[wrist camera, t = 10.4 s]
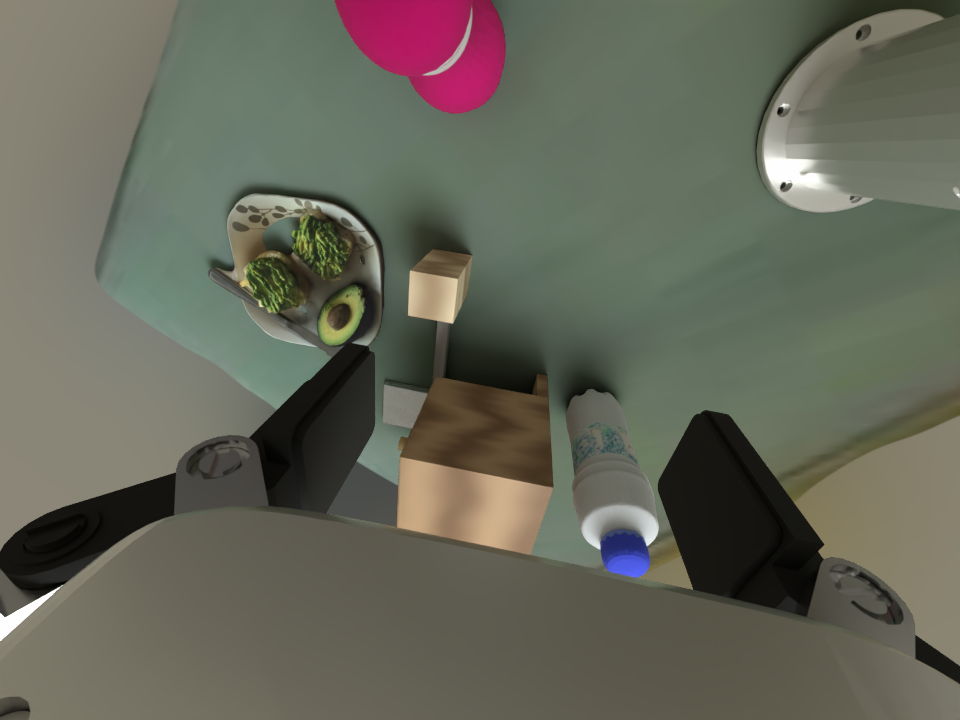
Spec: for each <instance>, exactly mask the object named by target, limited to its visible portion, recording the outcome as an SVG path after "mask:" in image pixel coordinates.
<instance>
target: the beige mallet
mask: <svg viewBox="0 0 960 720" xmlns="http://www.w3.org/2000/svg"><path fill="white" fill-rule="evenodd" d="M471 263H472V255H466V254H461V253H455V252H449V251H444V250H438V249H432V250H431V251H430V252H429V253H428V254H427V255H426V256H425V257H424V258H423V259H422V260H421V261H420V262H419V263H418V264H417V265H415V266H414V267H413V268H412V269H411V270H410V283H409V305H408V316H414V317H419V318H425V319H430V320H436V321H438V323H437V334H436V345H435V356H434V368H433V379H432V384H433V383H434V381H435V378H436V377H441V378H445V374H446V365H447V356H448V346H449V337H450V328H451V323H452V324H453V323H454V320H455V318H456V316H457V314H458V312H459V310H460V308H461V306H462V304H463V302H464V300H465V298H466V296H467V293H468V286H469V278H470V270H471Z"/></svg>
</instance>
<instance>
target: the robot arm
mask: <svg viewBox="0 0 960 720" xmlns="http://www.w3.org/2000/svg"><path fill="white" fill-rule="evenodd" d="M856 33H857V38H856ZM778 108H780V113H779V114H778V115H777V110H778ZM757 165H758V169H759V172H760V176H761V179H762V181H763V183H764V184H765V186H766V188H767V189H768V191H769V192H770V193H771V194H772V195H773V196H774V197H775V198H776V199H777V200H779V201H780V202H782V203H784V204H786V205H788V206H789V207H793V208H796V209H800V210H804V211H811V212H836V211H841V210H846V209H851V208H853V207H856V206H859V205H862V204H864V203H867V202H870V201H872V200H873V199H880V200H888V201H895V202H903V203H910V204H917V205H925V206H932V207H939V208H947V209H954V210H960V14H958V15H955V16H952V17H949V18H946V19H945V18H943V17H942V16H940V15H939V14H936V13H933V12H929V11H926V10H922V9H897V10H892V11H887V12H882V13H878V14H876V15H873V16H870V17H867V18H865V19H862V20H859V21H857V22H855V23H853V24H851V25H849V26H847V27H845V28H843V29H841V30H839V31H837V32H836V33H834V34H833V35H831V36H830V37H828V38H827V39H825V40H824V41H822V42H821V43H819V44H818V45H817V46H816V47H815V48H814V49H813V50H811V51H810V52H809V53H808V54H807V55H806V56H805V57H804V58H802V59H801V60H800V62H799V63H798V64H797V65H796V66H795V67H794V68H793V70H792V71H791V72H790V73H789V74H788V75H787V76H786V78H785V79H784V81H783V82H782V84H781V85H780V87H779V88H778V90H777V91H776V93H775V94H774V96H773V98H772V100H771V102H770V104H769V106H768V108H767V110H766V112H765V114H764V118H763V121H762V124H761V127H760V130H759V135H758V143H757ZM782 183H783V186H782V187H781V188H780V185H781V184H782ZM850 196H851V197H850ZM374 426H375V354H374V352H371V351H369V347H368V346H365V345H360V344H355V343H346V344H345V345H344V346H343V347H342V348H341V349H340V350H339V351H338V352H337V353H336V354H335V355H334V356H333V357H332V358H331V359H330V360H329V361H328V362H327V363H326V364H325V365H324V366H323V367H322V368H321V369H320V370H319V371H318V372H317V373H316V374H315V376H314V377H313V378H312V379H311V380H308V381H306V382H305V383H304V384H303V385H302V386H301V387H300V388H299V389H298V390H297V391H296V392H295V393H294V394H293V395H292V396H291V397H290V398H289V399H288V400H287V401H286V402H285V403H284V404H283V405H282V406H281V407H280V408H279V409H278V410H277V411H276V412H275V413H274V414H273V415H272V416H271V417H270V418H269V419H268V420H267V421H266V422H264V424H263V425H262V426H260V427H259V428H258V429H257V431H255V433H253V434H252V435H251V436H250V437H249V438H247V437H244V436H239V435H227V436H221V437H216V438H213V439H209V440H206V441H204V442H202V443H200V444H198V445H196V446H194V447H193V448H191V449H190V450H189V451H188V452H186V453H185V454H184V455H183V457H182V458H181V459H180V460H179V462H178V465H177V468H176V473H173V474H170V475H167V476H163V477H160V478H157V479H153V480H150V481H147V482H144V483H140V484H137V485H134V486H131V487H128V488H124V489H121V490H117V491H114V492H111V493H108V494H104V495H102V496H98V497H95V498H91V499H88V500H85V501H82V502H79V503H75V504H72V505H69V506H65V507H62V508H60V509H57V510H54V511H52V512H49V513H47V514H45V515H43V516H41V517H39V518H37V519H35V520H34V521H32V522H30V523H29V524H27V525H26V526H24V527H23V528H22V529H20V530H19V531H18V532H16V533H15V534H14V535H13V536H12V537H11V538H10V539H9V540H8V541H7V542H6V543H5V544H4V546H3V548H2V550H1V551H0V720H960V666H959V665H958V664H956V663H955V662H953V661H952V660H950V659H949V658H948V657H946V656H945V655H943V654H942V653H940V652H939V651H938V650H936V649H935V648H933V647H932V646H930V645H929V644H928V643H926V642H925V641H923V640H922V639H920V638H919V637H918V636H916V635H915V623H914V619H913V615H912V613H911V612H910V610H909V608H908V607H907V605H906V604H905V602H904V601H903V600H902V599H901V598H900V597H899V596H898V594H897V593H896V592H895V591H894V590H893V589H891V588H890V587H889V586H888V585H887V584H886V583H885V582H883V581H882V580H881V579H880V578H878V577H877V576H875V575H874V574H872V573H871V572H870V571H868V570H866V569H865V568H863V567H861V566H859V565H857V564H855V563H853V562H850V561H847V560H844V559H841V558H835V557H830V558H826V559H823V558H822V557H821V555H820V554H819V552H818V551H819V549H821V548H822V547H823V546H824V543H823V542H822V541H821V539H820V538H819V537H818V535H817V534H816V532H815V531H814V530H813V528H812V527H811V526H810V524H809V523H808V521H807V520H806V519H805V517H804V516H803V515H802V513H801V512H800V511H799V509H798V508H797V507H796V505H795V504H794V502H793V501H792V500H791V498H790V497H789V496H788V494H787V493H786V491H785V490H784V489H783V487H782V486H781V485H780V483H779V482H778V481H777V479H776V478H775V476H774V475H773V474H772V472H771V471H770V470H769V468H768V467H767V466H766V464H765V463H764V462H763V460H762V459H761V457H760V456H759V455H758V453H757V452H756V451H755V449H754V448H753V447H752V445H751V444H750V442H749V441H748V440H747V438H746V437H745V436H744V434H743V433H742V432H741V430H740V429H739V427H738V426H737V425H736V423H735V422H734V421H733V419H732V418H731V417H730V416H729V415H727V414H723V413H718V412H713V411H708V410H705V411H703V412H701V414H696V415H695V416H694V417H693V418H692V420H691V422H690V424H689V426H688V428H687V429H686V431H685V433H684V435H683V437H682V439H681V440H680V442H679V444H678V446H677V448H676V450H675V451H674V453H673V455H672V457H671V459H670V461H669V462H668V464H667V466H666V468H665V470H664V472H663V473H662V475H661V477H660V479H659V482H658V492H659V495H660V498H661V501H662V503H663V506H664V509H665V512H666V514H667V517H668V520H669V523H670V526H671V528H672V531H673V534H674V537H675V540H676V542H677V545H678V548H679V551H680V553H681V556H682V559H683V562H684V565H685V567H686V570H687V573H688V576H689V578H690V581H691V584H692V587H693V590H691V589H686V588H682V587H676V586H672V585H668V584H663V583H658V582H654V581H649V580H645V579H640V578H636V577H631V576H626V575H622V574H617V573H613V572H608V571H603V570H599V569H594V568H589V567H585V566H580V565H575V564H570V563H566V562H561V561H556V560H552V559H547V558H542V557H537V556H533V555H528V554H523V553H519V552H514V551H509V550H504V549H500V548H495V547H490V546H485V545H481V544H476V543H471V542H466V541H461V540H456V539H451V538H447V537H442V536H437V535H432V534H427V533H422V532H417V531H413V530H408V529H403V528H398V527H393V526H388V525H383V524H378V523H373V522H368V521H362V520H357V519H351V518H346V517H341V516H335V515H330V514H326V512H327V511H328V509H329V507H330V505H331V504H332V502H333V500H334V499H335V497H336V495H337V493H338V491H339V490H340V488H341V486H342V485H343V483H344V481H345V480H346V478H347V476H348V474H349V473H350V471H351V469H352V468H353V466H354V464H355V463H356V461H357V459H358V457H359V456H360V454H361V452H362V451H363V449H364V447H365V445H366V444H367V442H368V440H369V439H370V437H371V435H372V433H373V430H374Z"/></svg>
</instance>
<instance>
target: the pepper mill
mask: <svg viewBox="0 0 960 720" xmlns="http://www.w3.org/2000/svg"><path fill="white" fill-rule="evenodd" d="M335 3H336V6H337V9H338V12H339V15H340V17H341V19H342V21H343V24H344V26H345V28H346V29H347V31H348V33H349V34H350V36H351V38H352V39H353V41H354V42H355V44H356V45H357V46H358V47H359V49H360V50H361V51H362V52H363V53H364V54H365V55H366V56H367V57H368V58H369V59H370V60H372V61H373V62H374V63H375V64H377V65H379V66H380V67H382V68H383V69H385V70H387V71H389V72H392V73H394V74H398V75H403V76H408V78H409V80H410V82H411V84H412V85H413V87H414V88H415V90H416V91H417V92H418V94H419V95H420V96H421V97H422V98H423V99H424V100H425V101H426V102H427V103H429V104H430V105H432V106H433V107H434V108H436V109H439V110H441V111H443V112H448V113H463V112H468V111H470V110H472V109H476V108H478V107H480V106H481V105H483V104H484V103H486V102H487V101H488V100H489V99H490V97H491V96H492V95H493V94H494V92H495V90H496V88H497V86H498V84H499V81H500V78H501V75H502V71H503V67H504V61H505V49H506V44H505V34H504V30H503V26H502V22H501V20H500V17H499V15H498V13H497V11H496V9H495V7H494V5H493V4H492V2H491V0H335Z"/></svg>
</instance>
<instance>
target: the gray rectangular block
mask: <svg viewBox="0 0 960 720" xmlns="http://www.w3.org/2000/svg"><path fill="white" fill-rule="evenodd" d="M429 390H430V389H428V388H423V387H418V386H413V385H408V384H403V383H398V382H393V381H388V380H387V381H386V382H385V384H384V398H383V423H387V424H392V425H397V426H402V427H406V428H411V429H412V428H413V426H414V424H415V421H416V419H417V417H418V415H419V412H420V410H421V408H422V406H423V403H424V401H425V399H426V397H427V394H428V392H429Z"/></svg>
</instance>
